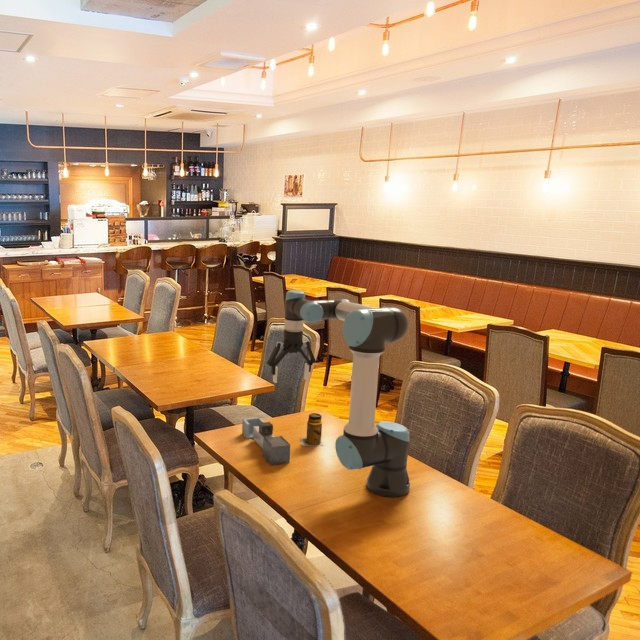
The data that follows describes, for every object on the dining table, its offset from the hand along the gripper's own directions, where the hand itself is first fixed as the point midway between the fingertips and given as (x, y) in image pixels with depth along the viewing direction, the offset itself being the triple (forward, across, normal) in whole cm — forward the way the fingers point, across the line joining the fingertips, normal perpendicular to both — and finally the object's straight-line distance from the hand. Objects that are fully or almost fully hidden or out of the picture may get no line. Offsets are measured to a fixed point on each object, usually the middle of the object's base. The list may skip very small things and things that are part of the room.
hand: (290, 381), depth 239 cm
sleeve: (+26, +11, +15) cm, 32 cm away
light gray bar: (+24, +11, +7) cm, 28 cm away
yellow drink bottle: (+26, -9, +4) cm, 28 cm away
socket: (+26, +12, -10) cm, 30 cm away
